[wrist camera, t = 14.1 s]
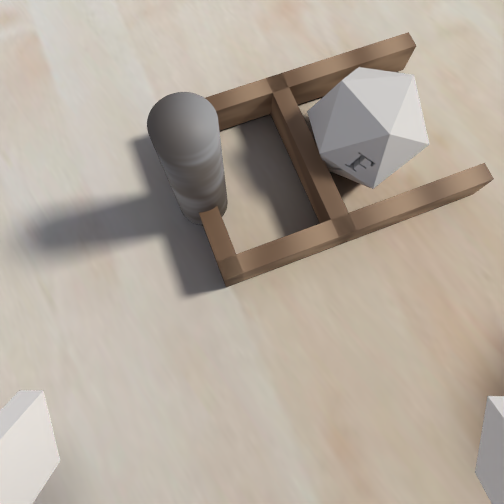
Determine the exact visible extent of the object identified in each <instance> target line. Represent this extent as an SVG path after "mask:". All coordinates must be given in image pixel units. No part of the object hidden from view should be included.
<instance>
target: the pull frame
mask: <svg viewBox="0 0 504 504" xmlns="http://www.w3.org/2000/svg"><path fill="white" fill-rule="evenodd" d="M415 47H416V44H415V43H414V41H413V39H412V37H411V36H410V34H409V32H408V33H405V34H402V35H399V36H396V37H393V38H389V39H386V40H383V41H380V42H377V43H374V44H371V45H368V46H365V47H361V48H358V49H355V50H352V51H349V52H346V53H343V54H340V55H337V56H334V57H330V58H327V59H324V60H321V61H318V62H315V63H312V64H309V65H306V66H302V67H299V68H296V69H293V70H290V71H287V72H284V73H281V74H278V75H275V76H271V77H268V78H265V79H262V80H259V81H256V82H253V83H250V84H247V85H243V86H240V87H237V88H234V89H231V90H228V91H225V92H222V93H219V94H215V95H212V96H209V97H206V98H204V97H202V96H200V95H197V94H194V93H190V92H178V93H173V94H170V95H168V96H166V97H164V98H162V99H161V100H159V101H158V102H157V103H156V104H155V105H154V106H153V108H152V109H151V111H150V113H149V116H148V120H147V129H148V133H149V136H150V138H151V140H152V143H153V145H154V147H155V150H156V152H157V154H158V157H159V159H160V161H161V164H162V166H163V168H164V171H165V173H166V175H167V178H168V180H169V182H170V185H171V187H172V189H173V192H174V194H175V196H176V199H177V201H178V203H179V206H180V208H181V210H182V213H183V214H184V216H185V217H186V218H187V219H188V220H189V221H191V222H193V223H195V224H199V225H203V227H204V230H205V232H206V235H207V238H208V240H209V243H210V246H211V248H212V251H213V254H214V256H215V259H216V262H217V264H218V267H219V270H220V272H221V275H222V278H223V280H224V283H225V286H226V287H228V286H231V285H233V284H236V283H239V282H241V281H244V280H247V279H249V278H252V277H255V276H257V275H260V274H262V273H265V272H268V271H270V270H273V269H276V268H278V267H281V266H284V265H286V264H289V263H292V262H294V261H297V260H300V259H302V258H305V257H308V256H310V255H313V254H316V253H318V252H321V251H323V250H326V249H329V248H331V247H334V246H337V245H339V244H342V243H345V242H347V241H350V240H353V239H355V238H358V237H361V236H363V235H366V234H369V233H371V232H374V231H377V230H379V229H382V228H385V227H387V226H390V225H392V224H395V223H398V222H400V221H403V220H406V219H408V218H411V217H414V216H416V215H419V214H422V213H424V212H427V211H430V210H432V209H435V208H438V207H440V206H443V205H446V204H448V203H451V202H454V201H456V200H459V199H461V198H464V197H467V196H469V195H472V194H474V193H475V192H477V191H478V190H480V189H481V188H482V187H484V186H485V185H486V184H488V183H489V182H491V181H492V180H493V179H494V178H493V177H492V175H491V173H490V171H489V170H488V168H487V166H486V165H485V163H483V164H480V165H478V166H475V167H472V168H469V169H467V170H464V171H461V172H459V173H456V174H453V175H450V176H448V177H445V178H442V179H440V180H437V181H434V182H431V183H429V184H426V185H423V186H421V187H418V188H415V189H412V190H410V191H407V192H404V193H402V194H399V195H396V196H393V197H391V198H388V199H385V200H383V201H380V202H377V203H374V204H372V205H369V206H366V207H364V208H361V209H358V210H356V211H353V212H350V213H348V210H347V208H346V206H345V204H344V202H343V200H342V198H341V196H340V194H339V191H338V189H337V187H336V185H335V183H334V181H333V179H332V177H331V175H330V172H329V170H328V168H327V166H326V164H325V162H324V160H322V158H321V156H320V153H319V150H318V147H317V145H316V143H315V141H314V139H313V137H312V134H311V132H310V130H309V128H308V126H307V124H306V122H305V120H304V118H303V115H302V113H301V111H300V109H299V107H298V104H301V103H304V102H307V101H310V100H313V99H316V98H319V97H322V96H325V95H326V94H327V93H328V92H329V91H330V90H332V89H333V88H334V87H335V86H336V85H337V84H338V83H339V82H340V81H342V80H343V79H344V78H345V77H347V76H348V75H349V74H350V73H352V72H353V71H354V70H356V69H357V68H358V67H362V68H369V69H376V70H383V71H390V72H398V71H401V70H403V69H404V67H405V66H406V64H407V62H408V60H409V58H410V56H411V55H412V53H413V51H414V49H415ZM268 114H271V116H272V118H273V120H274V123H275V125H276V127H277V129H278V132H279V134H280V136H281V138H282V140H283V143H284V145H285V147H286V149H287V151H288V154H289V156H290V158H291V160H292V163H293V165H294V167H295V169H296V171H297V174H298V176H299V178H300V180H301V182H302V185H303V187H304V189H305V191H306V194H307V196H308V198H309V200H310V202H311V205H312V207H313V209H314V211H315V213H316V216H317V218H318V220H319V222H320V224H318V225H315V226H312V227H309V228H307V229H304V230H301V231H299V232H296V233H293V234H290V235H288V236H285V237H282V238H280V239H277V240H274V241H271V242H269V243H266V244H263V245H261V246H258V247H255V248H252V249H250V250H247V251H244V252H242V253H239V254H236V253H235V250H234V248H233V245H232V242H231V240H230V237H229V235H228V232H227V230H226V227H225V224H224V222H223V219H222V216H223V215H224V213H225V211H226V209H227V193H226V184H225V175H224V167H223V158H222V149H221V140H220V132H219V131H220V130H223V129H226V128H229V127H232V126H235V125H238V124H241V123H244V122H247V121H250V120H253V119H256V118H259V117H262V116H265V115H268Z"/></svg>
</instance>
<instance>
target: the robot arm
mask: <svg viewBox="0 0 504 504" xmlns="http://www.w3.org/2000/svg"><path fill="white" fill-rule="evenodd" d="M59 462H60V457H59V453H58V449H57V445H56V441H55V436H54V432H53V428H52V424H51V420H50V416H49V411H48V407H47V403H46V399H45V395H44V391H43V390H20V391H19V392H18V393H17V394H16V395H15V396H14V397H13V398H12V399H11V400H10V401H9V402H8V403H7V404H6V405H5V406H4V407H3V408H2V409H1V410H0V504H33V502H34V501H35V499H36V498H37V496H38V494H39V493H40V491H41V490H42V488H43V487H44V485H45V484H46V482H47V481H48V479H49V478H50V476H51V474H52V473H53V471H54V470H55V468H56V467H57V465H58V464H59ZM475 473H476V475H477V477H478V479H479V481H480V483H481V484H482V486H483V488H484V490H485V492H486V494H487V496H488V497H489V499H490V501H491V503H492V504H504V396H488V398H487V404H486V410H485V416H484V422H483V428H482V434H481V440H480V446H479V452H478V458H477V464H476V470H475Z"/></svg>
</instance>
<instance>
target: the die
mask: <svg viewBox="0 0 504 504" xmlns="http://www.w3.org/2000/svg"><path fill="white" fill-rule="evenodd" d="M307 113H308V116H309V119H310V123H311V126H312V130H313V133H314V136H315V140H316V143H317V147H318V150H319V153H320V156H321V158H322V160H324V162H325V164H326V166H327V168H328V170H329V171H330V172H333V173H335V174H338V175H340V176H343V177H345V178H348V179H350V180H352V181H355V182H357V183H360V184H362V185H365V186H367V187H370V188H372V189H373V188H375V187H376V186H377V185H378V184H380V183H381V182H382V181H384V180H385V179H386V178H387V177H389V176H390V175H391V174H392V173H394V172H395V171H396V170H398V169H399V168H400V167H401V166H403V165H404V164H405V163H406V162H408V161H409V160H410V159H412V158H413V157H414V156H415V155H417V154H418V153H419V152H420V151H422V150H423V149H424V148H426V147H427V146H428V145H429V140H428V135H427V131H426V126H425V122H424V117H423V113H422V108H421V104H420V99H419V95H418V90H417V86H416V81H415V76H414V75H412V74H405V73H397V72H390V71H383V70H376V69H369V68H362V67H358V68H357V69H356V70H354V71H353V72H352V73H350V74H349V75H348V76H347V77H345V78H344V79H343V80H342V81H340V82H339V83H338V84H337V85H336V86H335V87H334V88H333V89H332V90H330V91H329V92H328V93H327V94H326V95H325V96H324V97H323V98H322V99H321V100H319V101H318V102H317V103H316V104H315V105H314V106H313V107H312V108H311V109H309V110H308V111H307Z"/></svg>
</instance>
